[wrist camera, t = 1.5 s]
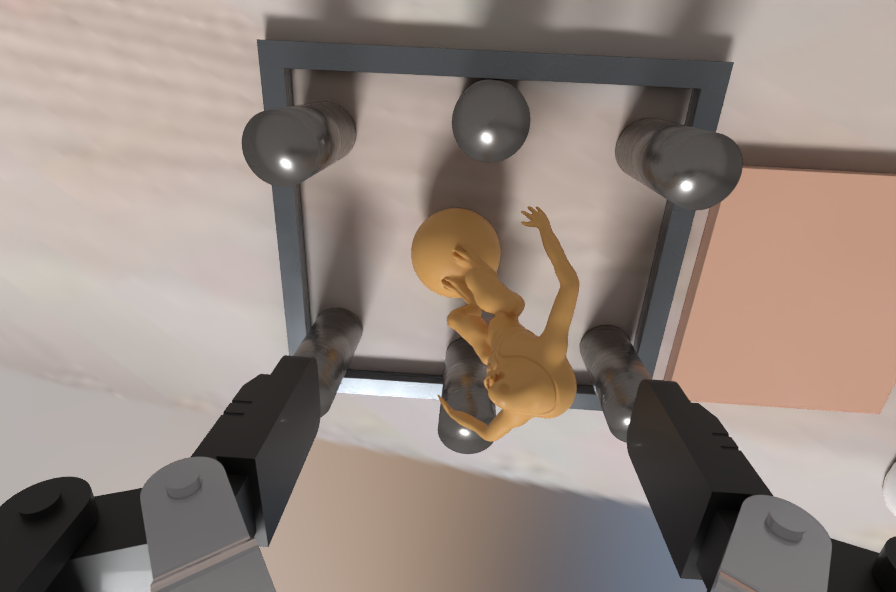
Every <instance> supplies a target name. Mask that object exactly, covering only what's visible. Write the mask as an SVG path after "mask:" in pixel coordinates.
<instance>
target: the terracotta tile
mask: <svg viewBox="0 0 896 592" xmlns="http://www.w3.org/2000/svg"><path fill="white" fill-rule="evenodd" d="M664 381H675V382H677V383H678V384H679V386H680V387H681V389H682V390H683V392H684V393H685V394H686V396H687V397H688V399H689V400H690V401H695V402H710V403H725V404H739V405H754V406H769V407H784V408H798V409H813V410H828V411H843V412H857V413H872V414H880V413H881V411H882V409H883V407H884V405H885V403H886V401H887V399H888V397H889V395H890V393H891V391H892V389H893V387H894V385H895V383H896V174H890V173H872V172H853V171H834V170H816V169H797V168H779V167H760V166H743V168H742V174H741V177H740V180H739V182H738V184H737V186H736V187H735V189H734V190H733V191H732V192H731V194H730V195H729V196H728V197H727V198H725V199H724V200H723V201H722V202H720V203H718V204H717V205H715V206H713V207H710V211H709V215H708V219H707V222H706V226H705V230H704V233H703V237H702V241H701V244H700V248H699V252H698V256H697V259H696V263H695V267H694V270H693V274H692V278H691V281H690V285H689V289H688V293H687V296H686V300H685V304H684V307H683V311H682V315H681V318H680V322H679V326H678V330H677V333H676V337H675V341H674V344H673V348H672V352H671V356H670V359H669V363H668V367H667V370H666V374H665V378H664Z"/></svg>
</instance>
